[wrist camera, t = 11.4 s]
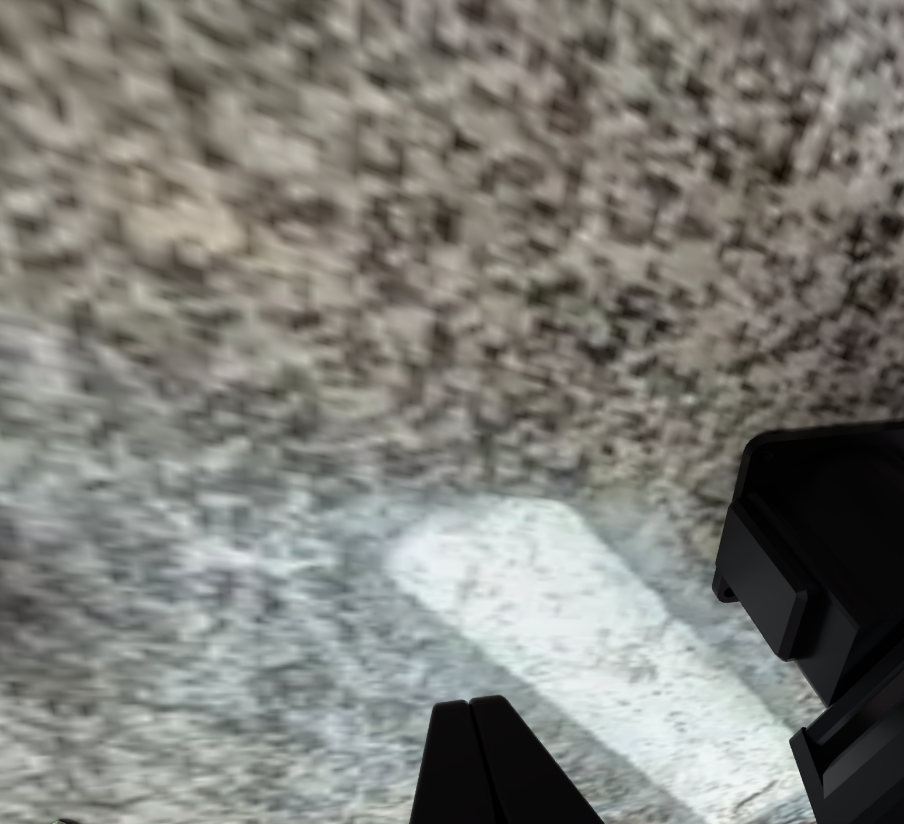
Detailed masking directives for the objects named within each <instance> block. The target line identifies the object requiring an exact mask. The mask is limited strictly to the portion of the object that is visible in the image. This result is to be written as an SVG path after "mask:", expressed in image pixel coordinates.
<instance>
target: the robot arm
mask: <svg viewBox="0 0 904 824" xmlns="http://www.w3.org/2000/svg"><path fill="white" fill-rule="evenodd" d="M764 450H766V451H765V452H764V453H763V454H762V455H759V454H760V453H761V452H762V451H764ZM715 564H716V570H715V575H714V579H713V583H712V590H713V592H714V593H715V595H716V596H717V598H718V599H719V601H721V602H723V603H731V602H738V601H740V603H741V604H742V606H743V607H744V609H745V610H746V612H747V613H748V615H749V616H750V618H751V619H752V621H753V622H754V624H755V625H756V627H757V628H758V630H759V631H760V633H761V634H762V636H763V637H764V639H765V640H766V642H767V643H768V645H769V646H770V648H771V649H772V651H773V652H774V654H775V655H776V656H777V657H779V658H780V659H781V660H782V661H784V662H788V661H794V662H795V663H796V665H797V666H798V668H799V669H800V670H801V672H802V673H803V675H804V676H805V678H806V679H807V681H808V682H809V684H810V685H811V686H812V688H813V689H814V691H815V692H816V694H817V695H818V697H819V698H820V700H821V701H822V702H823V704H824V705H825V707H826V708H827V709H826V710H825V711H824V712H823V713H822V714H821V715H820V716H819V717H818V718H817V719H816V720H815V721H814V722H813V723H812V724H810V725H809V726H808V727H807V728H806V727H802V728H801V729H800V730H799V731H798V732H797V733H796V734H795V735H794V736H793V737H791V738H790V740H789V743H790V746H791V749H792V752H793V755H794V758H795V761H796V763H797V766H798V769H799V772H800V775H801V778H802V781H803V784H804V787H805V789H806V792H807V795H808V798H809V801H810V804H811V807H812V810H813V813H814V815H815V818H816V821H817V824H904V421H903V422H893V423H882V424H872V425H862V426H851V427H841V428H831V429H820V430H810V431H800V432H789V433H779V434H769V435H761V436H757V437H755V438H754V439H752V440H750V442H749V443H748V444H747V445H746V447H745V449H744V452H743V456H742V460H741V465H740V469H739V473H738V477H737V481H736V486H735V490H734V494H733V498H732V502H731V504H730V506H729V507H728V511H727V515H726V520H725V524H724V528H723V532H722V537H721V541H720V545H719V550H718V554H717V558H716V563H715ZM409 824H605V823H604V822H603V821H602V819H601V818H600V817H599V816H598V814H597V813H596V812H595V810H594V809H593V808H592V807H591V805H590V804H589V803H588V802H587V800H586V799H585V798H584V797H583V795H582V794H581V793H580V791H579V790H578V789H577V788H576V786H575V785H574V784H573V783H572V781H571V780H570V779H569V777H568V776H567V775H566V774H565V772H564V771H563V770H562V769H561V767H560V766H559V765H558V763H557V762H556V761H555V760H554V758H553V757H552V756H551V755H550V753H549V752H548V751H547V750H546V748H545V747H544V746H543V744H542V743H541V742H540V741H539V739H538V738H537V737H536V736H535V734H534V733H533V732H532V730H531V729H530V728H529V727H528V725H527V724H526V723H525V722H524V720H523V719H522V718H521V717H520V715H519V714H518V713H517V711H516V710H515V709H514V708H513V706H512V705H511V704H510V703H509V701H508V700H507V699H506V698H505V697H503V696H502V695H490V696H483V697H476V698H472V699H471V700H470V701H469V704H468V703H467V701H465V700H454V701H447V702H440V703H436V704H435V705H434V707H433V709H432V713H431V718H430V723H429V728H428V733H427V738H426V743H425V748H424V753H423V758H422V763H421V768H420V773H419V778H418V783H417V787H416V792H415V797H414V802H413V807H412V812H411V817H410V822H409Z"/></svg>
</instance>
